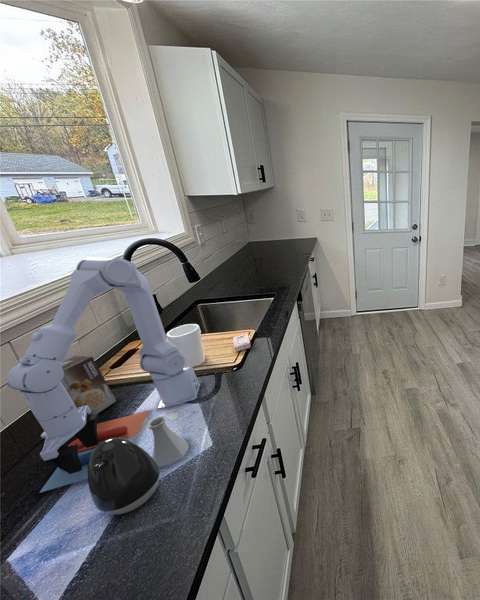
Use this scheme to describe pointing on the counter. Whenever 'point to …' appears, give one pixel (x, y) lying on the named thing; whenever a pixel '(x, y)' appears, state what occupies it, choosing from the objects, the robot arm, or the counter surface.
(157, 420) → the flask
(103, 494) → the black rounded cone
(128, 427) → the terracotta mat
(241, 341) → the soap bar
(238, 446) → the counter surface
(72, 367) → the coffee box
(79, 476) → the blue mat
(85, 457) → the blue spoon
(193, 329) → the foam cup
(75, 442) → the red spoon
